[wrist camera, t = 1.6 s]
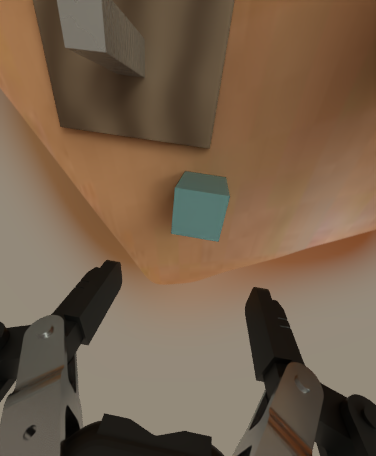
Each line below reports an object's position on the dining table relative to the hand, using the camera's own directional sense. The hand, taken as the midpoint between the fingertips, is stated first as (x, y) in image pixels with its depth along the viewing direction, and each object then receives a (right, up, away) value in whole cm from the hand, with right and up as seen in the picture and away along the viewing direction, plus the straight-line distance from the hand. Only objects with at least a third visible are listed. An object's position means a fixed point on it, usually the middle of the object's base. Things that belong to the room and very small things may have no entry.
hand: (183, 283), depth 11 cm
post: (-5, +20, +7) cm, 22 cm away
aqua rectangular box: (+2, +8, +14) cm, 16 cm away
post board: (-5, +21, +8) cm, 23 cm away
